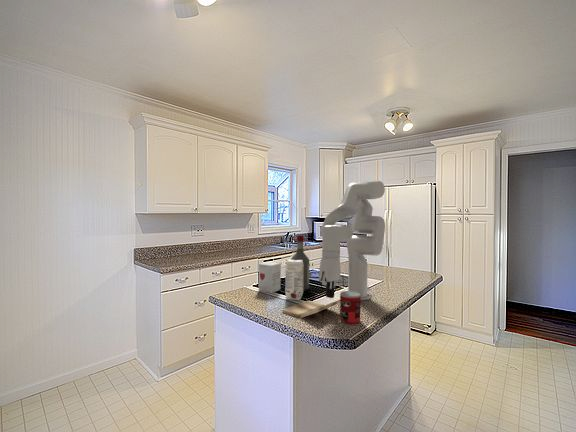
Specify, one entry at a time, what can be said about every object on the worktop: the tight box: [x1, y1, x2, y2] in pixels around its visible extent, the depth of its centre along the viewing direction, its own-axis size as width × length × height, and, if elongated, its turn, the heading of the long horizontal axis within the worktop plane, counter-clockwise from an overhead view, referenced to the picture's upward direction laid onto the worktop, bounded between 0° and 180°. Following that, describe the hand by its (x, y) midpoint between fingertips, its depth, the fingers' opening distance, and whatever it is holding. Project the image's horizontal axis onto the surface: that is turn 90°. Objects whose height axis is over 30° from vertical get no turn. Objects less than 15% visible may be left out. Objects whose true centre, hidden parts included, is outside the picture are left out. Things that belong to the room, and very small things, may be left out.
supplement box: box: [258, 261, 282, 294], centre depth 159 cm, size 9×9×15 cm
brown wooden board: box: [282, 300, 325, 319], centre depth 128 cm, size 18×9×1 cm, turn 137°
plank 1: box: [300, 304, 330, 319], centre depth 119 cm, size 8×10×1 cm
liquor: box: [290, 234, 310, 291], centre depth 164 cm, size 9×9×30 cm
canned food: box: [339, 290, 362, 325], centre depth 116 cm, size 8×8×11 cm
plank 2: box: [316, 299, 340, 309], centre depth 125 cm, size 8×10×1 cm
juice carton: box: [284, 258, 304, 301], centre depth 145 cm, size 8×9×19 cm
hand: (330, 297), depth 124 cm, fingers closed
